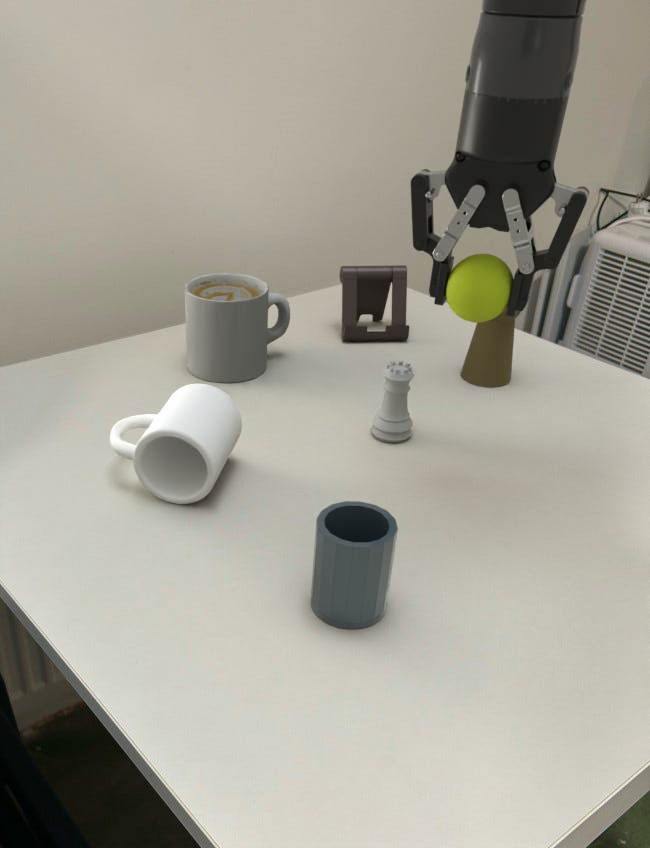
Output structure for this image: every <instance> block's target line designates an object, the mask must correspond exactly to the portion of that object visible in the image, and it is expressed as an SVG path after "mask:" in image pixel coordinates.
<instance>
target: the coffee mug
mask: <svg viewBox="0 0 650 848" xmlns="http://www.w3.org/2000/svg"><path fill="white" fill-rule="evenodd" d="M273 305H275V306H276V309H277V320H276V322H275V324H274V325H273V326H272V327H269V325H268V324H269V323H268V322H269V309H270V308H271V306H273ZM184 312H185V315H184V316H185V341H186V342H185V343H186V344H185V345H186V347H185V348H186V368H187V370H188V371H189V373H190V374H192V375H193V376H195V377H196V378H198V379H201V380H204V381H207V382H212V383H220V384H232V383H241V382H247V381H250V380H253V379H255V378H258V377H260V376H261V375H262V374H264V373H265V371H266V370H267V360H268V354H267V353H268V345H270V344H271V343H273V342H275V341H277V340H278V339H280V338H281V337H283V335H285V333H286V332H287V330H288V328H289V325H290V322H291V307H290V302H289V300H288V299H287V298H286V297H285V296H284V295H282V294H281V293H279V292H269V285H268V283H267V282H266V281H264V280H263V279H261V278H258V277H256V276H253V275H249V274H244V273H235V272H234V273H233V272H219V273H218V272H217V273H209V274H203V275H199V276H196V277H194V278H191V279H190V280H189V281H187V282H186V283H185V285H184Z"/></svg>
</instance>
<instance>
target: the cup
mask: <svg viewBox="0 0 650 848" xmlns="http://www.w3.org/2000/svg"><path fill="white" fill-rule="evenodd" d="M315 520H316V522H315V533H314V534H315V535H314V546H313V547H314V548H313V549H314V550H313V562H312V574H311V576H312V577H311V589H310V606H311V608H312V611H313V612H314V614H315V615H316V616H317V617H318V618H319V619H320V620H321V621H322V622H324V623H326V624H328V625H331V626H333V627H336V628H340V629H346V630H357V629H358V630H359V629H364V628H368V627H371V626H373V625H375V624H376V623H377V622H380V620H382V618H383V616H384V615H385V613H386V609H387V605H388V601H389V600H388V599H389V593H390V586H391V585H390V584H391V578H392V571H393V565H394V558H395V550H396V546H397V545H396V543H397V538H398V531H399V528H398V527H399V526H398V523H397V520H396V518H395V517H394V516H393V515H392V514H391V512H389V511H388V510H387V509H385V508H382V507H380V506H378V505H377V504H373V503H370V502H365V501H358V500H357V501H356V500H355V501H354V500H352V501H351V500H349V501H348V500H347V501H341V502H336V503H332V504H330V505H328V506H327V507H325V508H323V509H322V510H321V511H320V512H319V514H318V516H317V517H316V519H315Z"/></svg>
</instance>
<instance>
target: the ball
mask: <svg viewBox="0 0 650 848" xmlns="http://www.w3.org/2000/svg"><path fill="white" fill-rule="evenodd" d="M513 280H514V275H513V272H512V270H511V268H510V267H509V265H508V264H507V263H506V262H505V261H504V260H503V259H501V258H500V257H498V256H497V255H494V254H490V253H476V254H472V255H469V256H467V257H465V258H463V259H461V260H460V261H459V262H458V263H457V264H456V265H455V266H454V267H453V268H452V271H451V273H450V275H449V277H448V280H447V284H446V298H447V300H446V302H447V304H448V306H449V308H450V309H451V311H452V313H453V314H455V315H456V316H457V317H458V318H460V319H462V320H464V321H467V322H470V323H477V322H485V321H489V320H491V319H493V318H495V317H497V316H498V315H500V314H501V313H502V312H503V311H504V310H505V309H506V307H507V306H508V304H509V299H510V294H511V290H512V285H513Z"/></svg>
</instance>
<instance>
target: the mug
mask: <svg viewBox="0 0 650 848" xmlns="http://www.w3.org/2000/svg"><path fill="white" fill-rule="evenodd" d="M242 425H243V423H242V416H241V413H240V410H239V407H238V406H237V404H236V403H235V401H234V400H233V399H232V397H230V396H229V395H228V394H227V393H226V392H225V391H223V390H222V389H220V388H218V387H216V386H213V385H211V384H208V383H201V382H200V383H190V384H186V385H183V386H181V387H180V388H178V389H176V391H174V392H173V393H172V395H171V396H170V397H169V398H168V400H167V401H166V403H165V404H164V405H163V407H162V408H161V409H160V411H159V412H158V414H157V413H144V414H143V413H141V414H136V415H131V416H128V417H125V418H123V419H120V420H119V421H117V422H116V423H115V424H114V425H113V426H112V428H111V431H110V433H109V444H110V447H111V449H112V451H113V452H114V453H115V454H117V455H118V456H121V458H124V459H127V460H130V461H132V463H133V468H134V473H135V475H136V476H137V478H138V480H139V481H140V483H141V484H142V485H143V487H144V488H145V489H146V490H147V491H148V492H150V494H152V495H153V496H155V497H156V498H158V499H161V500H162V501H165V502H167V503H170V504H177V505H189V504H193V503H196V502H198V501H201V500H202V499H204V498H205V497H207V495H208V494H209V493H210V492H211V491H212V489H213V488H214V487H215V484H216V482H217V481H218V478H219V477H220V474H221V473H222V471H223V469H224V467H225V465H226V463H227V461H228V460H229V457H230V455H231V454H232V452H233V450H234V449H235V446H236V444H237V442H238V440H239V439H240V436H241V433H242V427H243V426H242ZM134 429H146V430H145V432H144V433H143V434H142V436H141V437H140V438H139V440H138V441H137V443H136V444H135V443H130V442H128V441H125V440H124V439H122V437H123V435H125V433H126V432H128V431H130V430H134Z"/></svg>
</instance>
